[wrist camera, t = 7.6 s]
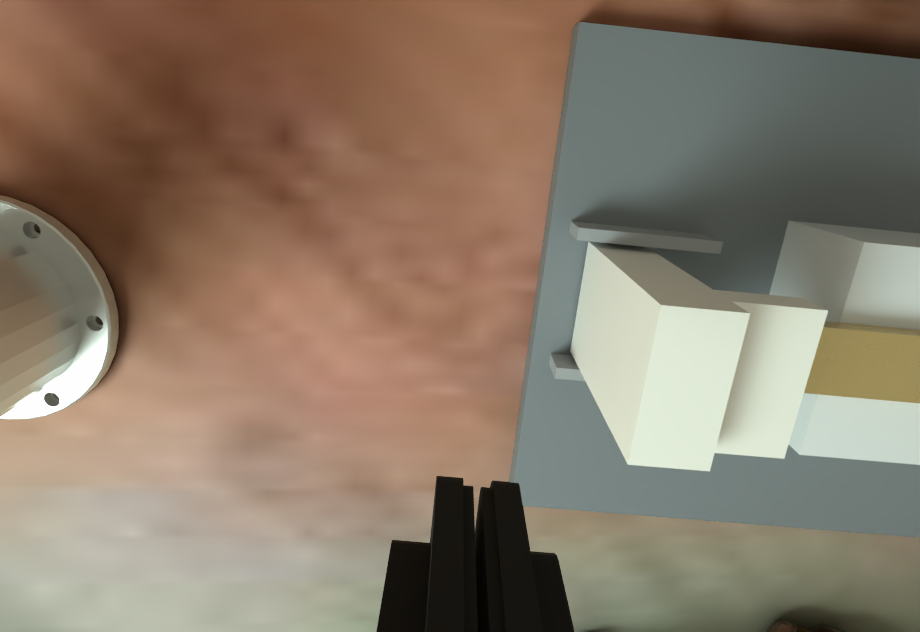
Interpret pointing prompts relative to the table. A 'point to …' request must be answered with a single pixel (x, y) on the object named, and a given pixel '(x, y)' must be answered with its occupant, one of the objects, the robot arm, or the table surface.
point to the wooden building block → (866, 363)
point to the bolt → (798, 628)
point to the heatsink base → (733, 260)
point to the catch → (689, 360)
